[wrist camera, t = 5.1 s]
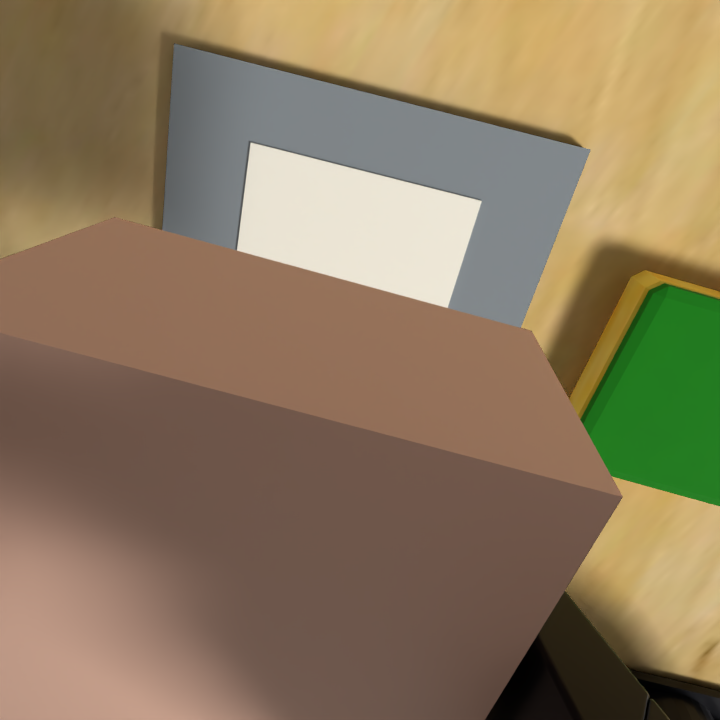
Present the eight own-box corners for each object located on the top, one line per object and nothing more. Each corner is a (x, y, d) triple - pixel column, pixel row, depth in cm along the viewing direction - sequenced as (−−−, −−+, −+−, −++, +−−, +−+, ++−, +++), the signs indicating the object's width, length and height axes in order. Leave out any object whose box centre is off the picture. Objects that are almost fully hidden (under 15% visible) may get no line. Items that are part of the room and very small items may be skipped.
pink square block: (532, 330, 8) (622, 496, 5) (409, 610, 11) (408, 842, 8) (114, 216, 8) (-117, 301, 5) (101, 532, 11) (-47, 733, 8)
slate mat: (585, 148, 17) (591, 150, 16) (466, 453, 22) (468, 463, 21) (182, 45, 16) (172, 43, 16) (159, 377, 22) (151, 385, 21)
